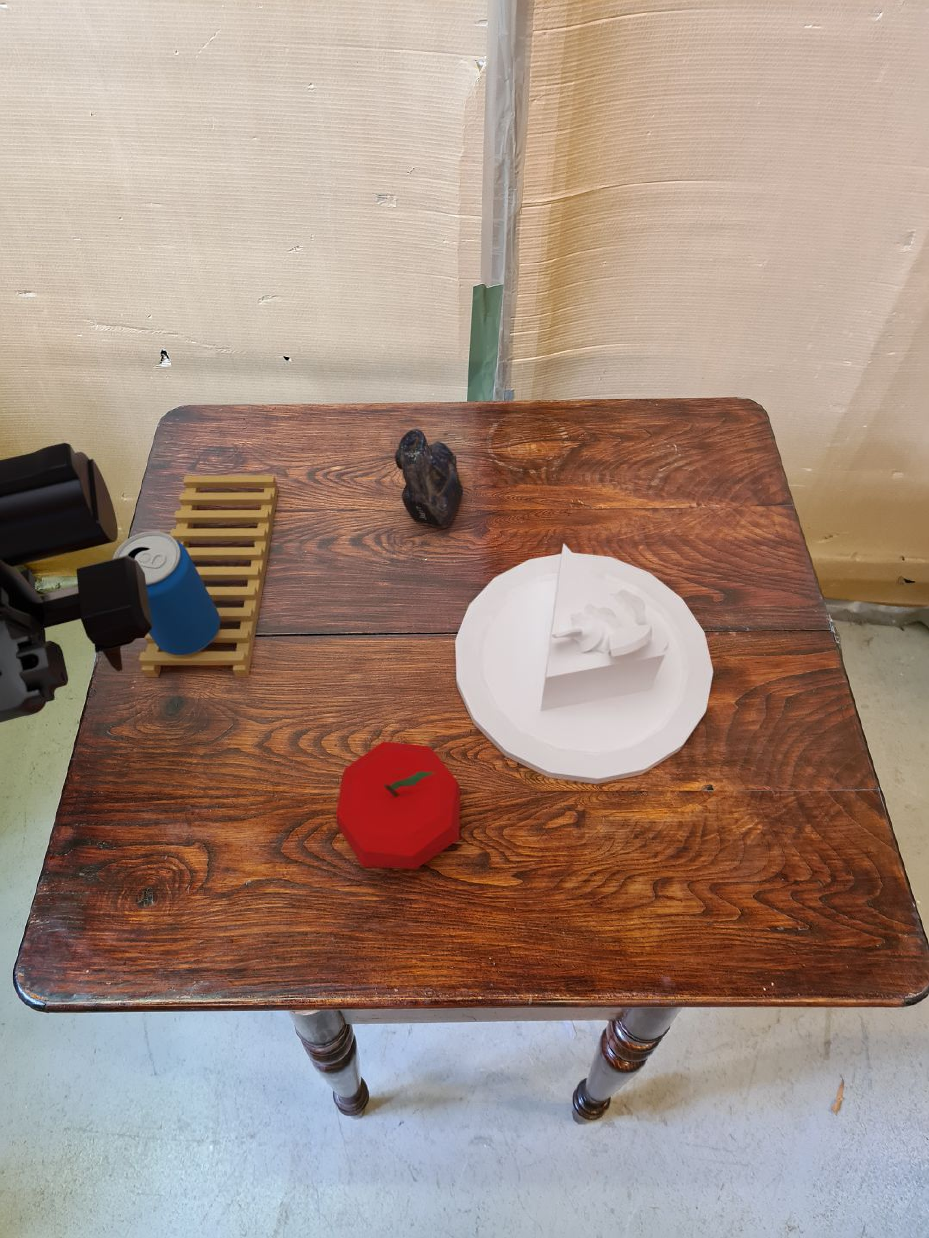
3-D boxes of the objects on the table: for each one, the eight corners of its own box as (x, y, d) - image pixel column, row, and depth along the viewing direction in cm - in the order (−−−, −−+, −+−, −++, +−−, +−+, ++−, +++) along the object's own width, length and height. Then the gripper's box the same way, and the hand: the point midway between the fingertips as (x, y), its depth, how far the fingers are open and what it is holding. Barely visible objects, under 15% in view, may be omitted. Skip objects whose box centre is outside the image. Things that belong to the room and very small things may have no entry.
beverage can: (170, 597, 80) (126, 521, 69) (231, 608, 79) (196, 533, 69) (144, 652, 76) (93, 581, 66) (207, 664, 75) (166, 594, 65)
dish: (749, 752, 73) (791, 697, 64) (484, 806, 70) (486, 758, 61) (660, 543, 86) (684, 472, 76) (433, 583, 83) (428, 514, 74)
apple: (356, 900, 66) (339, 868, 58) (331, 783, 72) (313, 739, 63) (478, 864, 68) (479, 828, 59) (445, 752, 73) (441, 705, 65)
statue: (476, 477, 91) (476, 374, 78) (441, 557, 85) (435, 460, 72) (430, 466, 92) (423, 362, 79) (392, 544, 86) (378, 445, 73)
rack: (248, 677, 78) (242, 664, 75) (146, 677, 78) (137, 665, 76) (278, 490, 90) (274, 474, 88) (191, 490, 90) (184, 475, 88)
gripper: (-228, 721, 44) (-67, 812, 57) (115, 631, 47) (193, 737, 60) (-205, 567, 50) (-64, 682, 63) (100, 495, 53) (174, 619, 66)
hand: (60, 682), depth 63 cm, fingers open, 9 cm apart
